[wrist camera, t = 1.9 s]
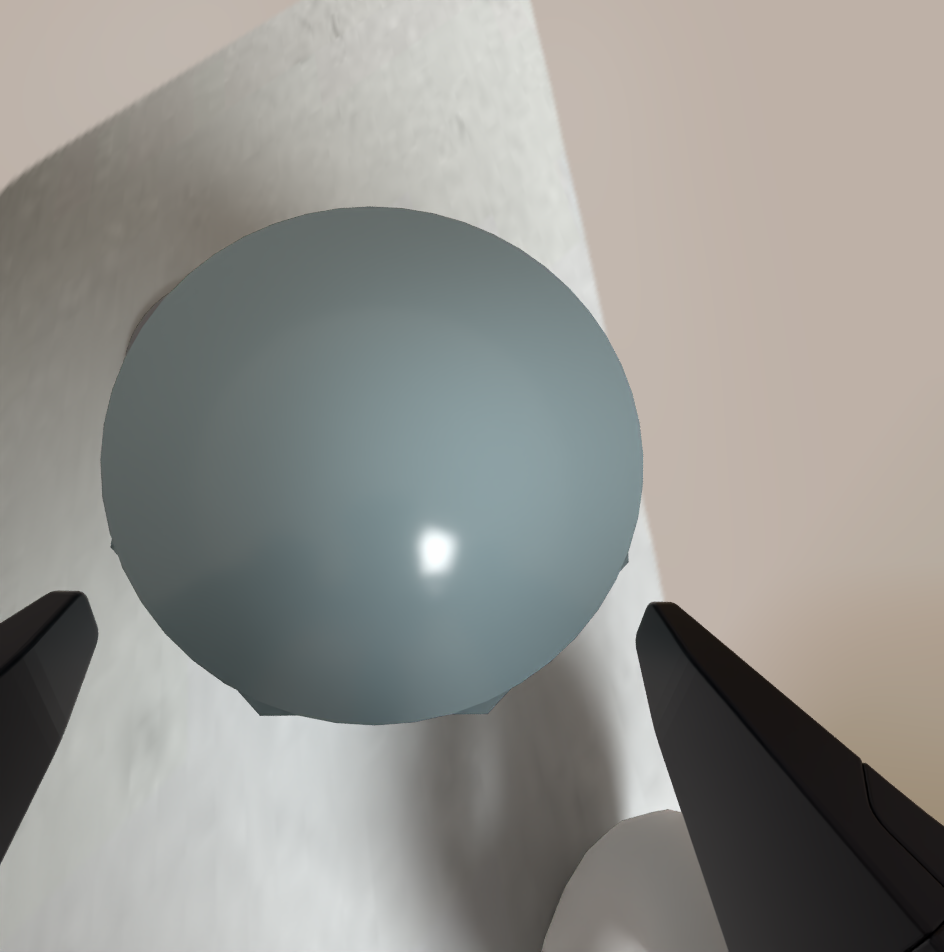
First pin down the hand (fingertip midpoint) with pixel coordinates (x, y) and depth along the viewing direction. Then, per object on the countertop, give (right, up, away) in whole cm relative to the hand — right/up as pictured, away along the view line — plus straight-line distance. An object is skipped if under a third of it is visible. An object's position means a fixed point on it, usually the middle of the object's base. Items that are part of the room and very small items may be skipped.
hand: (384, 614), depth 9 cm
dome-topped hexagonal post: (-1, 0, +10) cm, 10 cm away
